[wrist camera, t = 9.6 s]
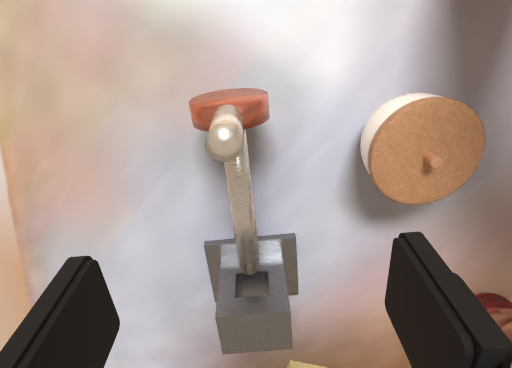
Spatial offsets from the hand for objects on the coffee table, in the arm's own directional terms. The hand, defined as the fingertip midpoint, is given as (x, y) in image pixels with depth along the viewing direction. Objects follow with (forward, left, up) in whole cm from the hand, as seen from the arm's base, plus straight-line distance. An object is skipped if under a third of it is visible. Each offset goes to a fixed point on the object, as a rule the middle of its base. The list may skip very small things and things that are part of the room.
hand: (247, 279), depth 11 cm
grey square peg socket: (+24, -2, -28) cm, 37 cm away
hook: (+9, -2, -25) cm, 27 cm away
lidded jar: (+6, +16, -29) cm, 34 cm away
